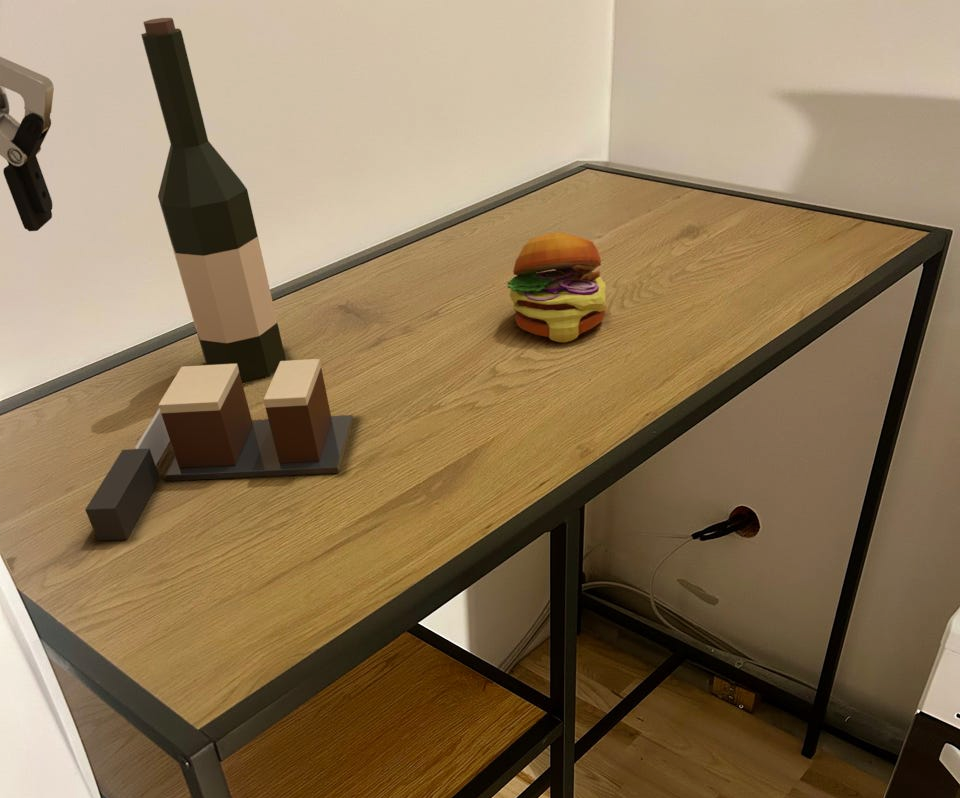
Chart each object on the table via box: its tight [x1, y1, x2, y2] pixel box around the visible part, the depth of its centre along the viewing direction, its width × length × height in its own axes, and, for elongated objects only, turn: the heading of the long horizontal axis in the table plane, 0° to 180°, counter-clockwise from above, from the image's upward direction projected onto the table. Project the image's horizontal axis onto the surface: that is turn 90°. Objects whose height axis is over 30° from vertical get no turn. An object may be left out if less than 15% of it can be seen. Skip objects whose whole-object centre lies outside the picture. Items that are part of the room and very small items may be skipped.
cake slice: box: [263, 358, 332, 463], centre depth 82 cm, size 4×7×6 cm, turn 178°
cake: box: [157, 364, 253, 468], centre depth 82 cm, size 5×7×6 cm
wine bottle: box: [141, 17, 287, 383], centre depth 88 cm, size 8×8×30 cm
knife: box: [84, 408, 171, 542], centre depth 81 cm, size 18×2×3 cm, turn 178°
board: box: [164, 414, 355, 482], centre depth 84 cm, size 15×9×1 cm, turn 88°
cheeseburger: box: [506, 232, 607, 344], centre depth 97 cm, size 10×11×10 cm
